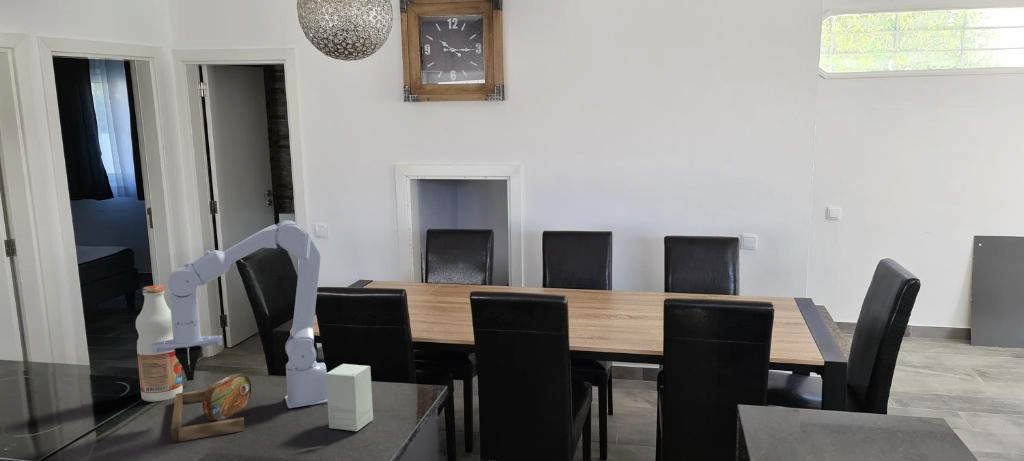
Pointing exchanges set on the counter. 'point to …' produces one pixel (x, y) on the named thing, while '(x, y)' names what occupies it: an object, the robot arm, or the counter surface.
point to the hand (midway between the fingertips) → (190, 379)
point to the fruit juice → (162, 367)
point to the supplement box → (349, 397)
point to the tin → (226, 397)
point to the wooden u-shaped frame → (200, 429)
